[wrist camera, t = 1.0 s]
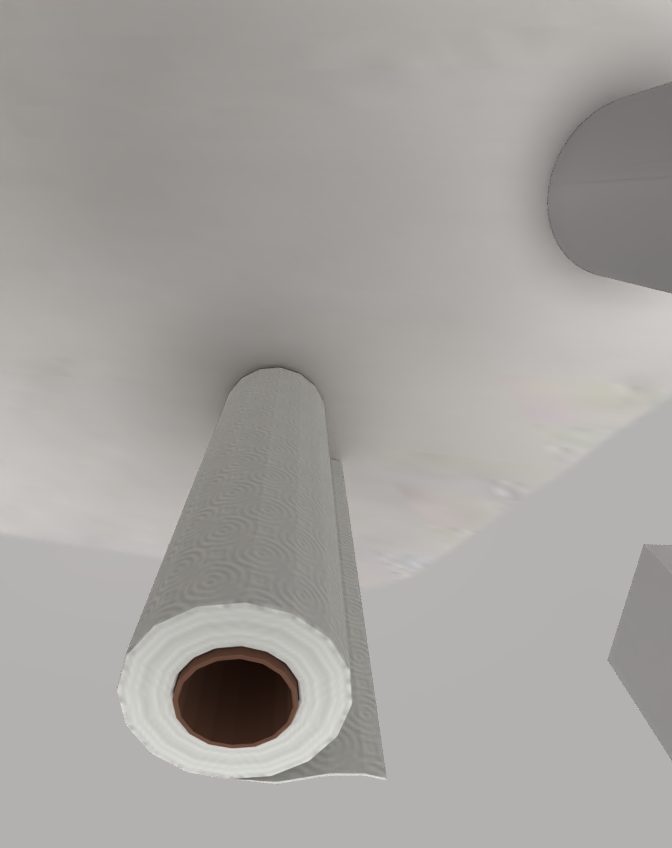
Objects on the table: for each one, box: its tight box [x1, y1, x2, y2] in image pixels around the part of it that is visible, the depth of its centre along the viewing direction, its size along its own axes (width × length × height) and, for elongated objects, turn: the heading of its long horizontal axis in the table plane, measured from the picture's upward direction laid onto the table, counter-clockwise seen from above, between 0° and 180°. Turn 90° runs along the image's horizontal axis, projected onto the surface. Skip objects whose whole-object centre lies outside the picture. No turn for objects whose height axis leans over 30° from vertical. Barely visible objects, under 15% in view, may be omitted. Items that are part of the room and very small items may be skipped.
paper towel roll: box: [117, 368, 386, 784], centre depth 25 cm, size 7×6×21 cm
